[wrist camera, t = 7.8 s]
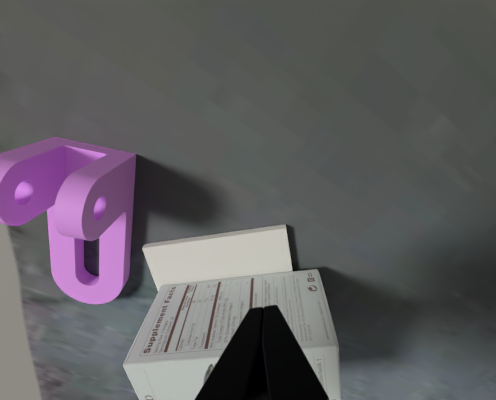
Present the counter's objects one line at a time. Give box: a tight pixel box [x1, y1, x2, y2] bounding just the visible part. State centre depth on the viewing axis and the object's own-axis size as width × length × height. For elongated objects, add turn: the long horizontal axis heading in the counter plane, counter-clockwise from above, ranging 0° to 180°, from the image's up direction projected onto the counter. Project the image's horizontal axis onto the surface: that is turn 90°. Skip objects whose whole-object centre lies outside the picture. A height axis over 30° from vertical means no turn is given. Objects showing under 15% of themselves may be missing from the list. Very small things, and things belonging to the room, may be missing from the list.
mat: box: [142, 224, 293, 292], centre depth 25 cm, size 11×14×1 cm
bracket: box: [0, 137, 136, 304], centre depth 20 cm, size 13×6×7 cm, turn 168°
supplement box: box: [123, 269, 342, 400], centre depth 21 cm, size 7×7×13 cm
